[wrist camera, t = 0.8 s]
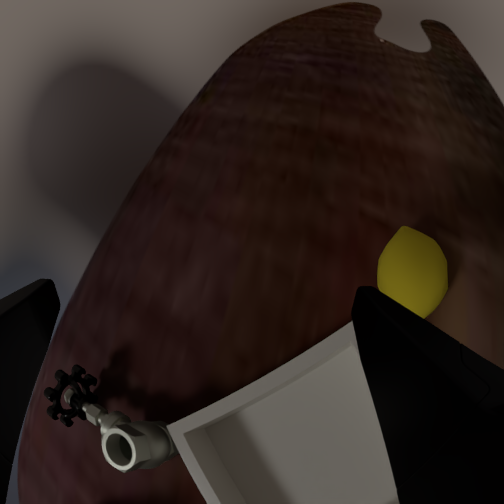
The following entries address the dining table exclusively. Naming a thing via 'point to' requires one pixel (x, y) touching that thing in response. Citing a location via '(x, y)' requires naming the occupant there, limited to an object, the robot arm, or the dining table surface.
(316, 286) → the dining table surface
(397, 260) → the lemon
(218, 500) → the walled box
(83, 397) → the valve
